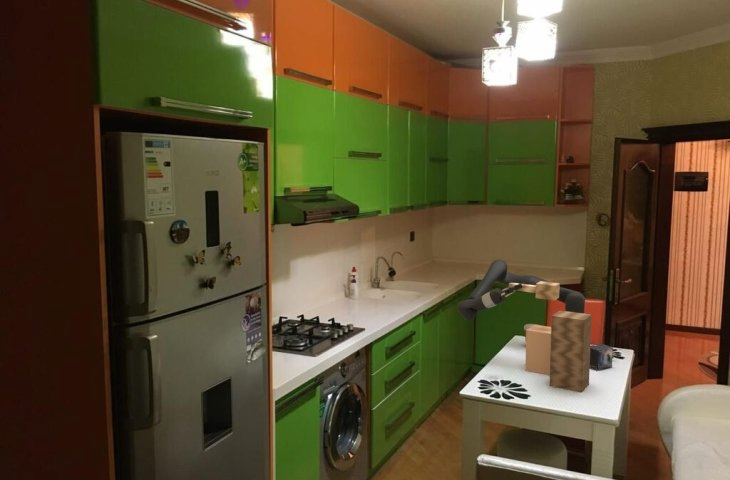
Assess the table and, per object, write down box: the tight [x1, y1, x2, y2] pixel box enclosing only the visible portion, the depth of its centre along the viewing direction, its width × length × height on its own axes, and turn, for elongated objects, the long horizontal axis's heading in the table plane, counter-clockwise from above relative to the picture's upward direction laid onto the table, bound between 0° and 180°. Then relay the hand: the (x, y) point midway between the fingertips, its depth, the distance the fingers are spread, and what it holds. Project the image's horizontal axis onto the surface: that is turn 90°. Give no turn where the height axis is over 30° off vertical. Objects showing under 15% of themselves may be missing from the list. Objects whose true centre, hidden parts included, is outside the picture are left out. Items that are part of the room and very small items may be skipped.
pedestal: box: [524, 324, 551, 376], centre depth 277 cm, size 14×12×20 cm
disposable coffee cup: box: [523, 323, 538, 341], centre depth 314 cm, size 10×10×12 cm
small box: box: [590, 343, 614, 372], centre depth 280 cm, size 11×6×10 cm, turn 117°
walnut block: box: [549, 310, 593, 393], centre depth 256 cm, size 14×12×32 cm
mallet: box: [508, 281, 561, 301], centre depth 277 cm, size 23×7×7 cm, turn 56°
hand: (522, 284), depth 279 cm, fingers closed on mallet, 3 cm apart
